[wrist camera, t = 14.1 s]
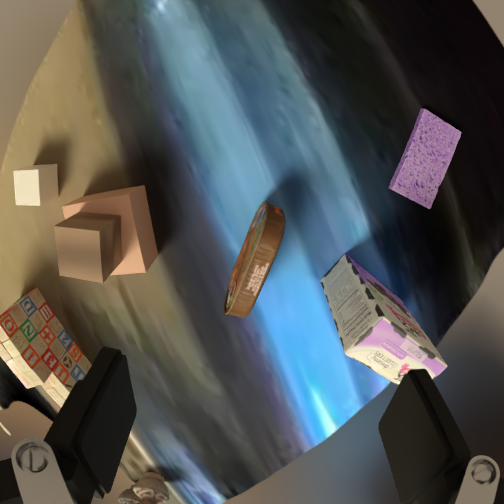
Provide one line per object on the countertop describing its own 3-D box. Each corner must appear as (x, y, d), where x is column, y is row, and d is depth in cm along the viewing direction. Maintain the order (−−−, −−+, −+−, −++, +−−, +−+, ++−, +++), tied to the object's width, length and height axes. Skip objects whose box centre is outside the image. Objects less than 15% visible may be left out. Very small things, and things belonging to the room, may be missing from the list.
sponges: (386, 186, 40) (391, 189, 39) (419, 106, 36) (425, 106, 34) (424, 207, 41) (430, 210, 40) (455, 131, 37) (462, 132, 35)
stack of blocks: (103, 376, 54) (80, 422, 42) (83, 381, 55) (59, 424, 43) (37, 285, 47) (-3, 322, 35) (19, 296, 48) (-18, 331, 36)
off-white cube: (33, 165, 39) (13, 170, 34) (57, 163, 39) (38, 169, 34) (35, 196, 41) (16, 205, 36) (58, 197, 41) (40, 205, 36)
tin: (262, 194, 41) (264, 211, 33) (285, 203, 41) (292, 221, 33) (224, 291, 46) (218, 325, 38) (244, 298, 46) (242, 333, 39)
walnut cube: (79, 211, 36) (54, 226, 30) (120, 215, 36) (99, 231, 30) (82, 255, 38) (59, 275, 32) (122, 261, 38) (102, 282, 33)
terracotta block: (83, 195, 41) (62, 206, 36) (145, 184, 41) (128, 194, 35) (99, 259, 45) (81, 277, 39) (158, 254, 44) (145, 272, 39)
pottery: (179, 478, 68) (173, 513, 57) (151, 499, 76) (144, 527, 65) (140, 462, 66) (130, 498, 55) (118, 486, 74) (110, 515, 63)
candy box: (403, 300, 46) (450, 367, 31) (378, 326, 48) (414, 398, 33) (345, 251, 43) (386, 315, 28) (317, 281, 45) (343, 356, 30)
